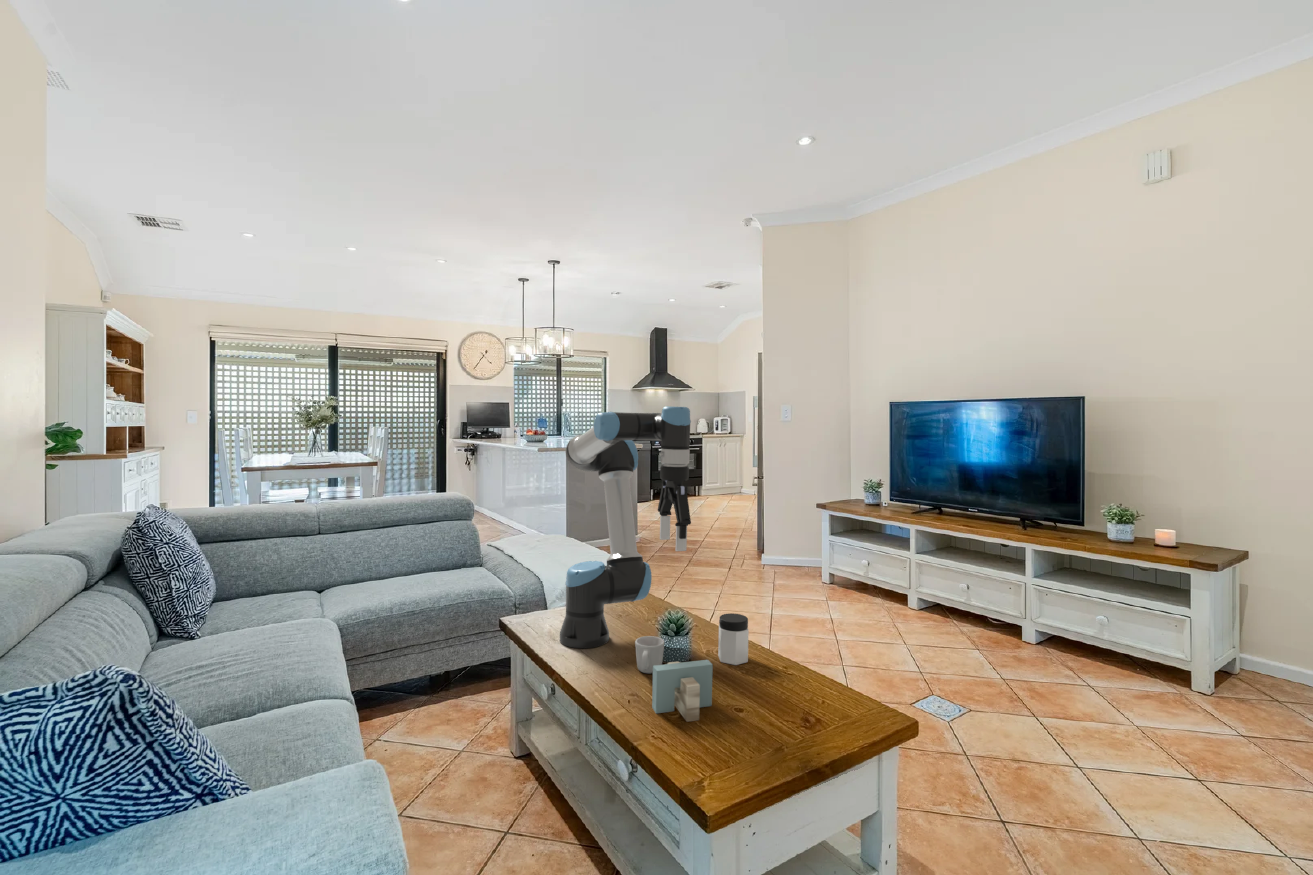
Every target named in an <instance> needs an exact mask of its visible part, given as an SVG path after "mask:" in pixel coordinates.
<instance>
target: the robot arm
mask: <svg viewBox="0 0 1313 875" xmlns="http://www.w3.org/2000/svg"><path fill="white" fill-rule="evenodd" d="M691 422H692V420H691V410H690V408H689V407H688V406H669V405H667V406H663V407H662V410H661V413H660V412H616V411H615V412H614V411H606V412H598V413H597V414H596V416H595V418H594V421H593V426H592V427H591V428H589V429H588V430H587V431H586V432H584V433H583V434H577V435H575V436H574V437H572V438H571V439H570V440H569V441H568V442H567V445H566V448H565V456H566V458H567V460H568V462H569V463H570V465H572V466H573V467H574V468H576V469H578V470H580V471H585V472H598V479H600V481H602V482H603V486H604V488H603V489H604V497H605V507H606V519H607V528H608V529H607V531H608V539H609V540H608V541H609V549H610V554H609V557H608V558H607V559H606V565H605V563H604V562H603V561H600V560H588V561H582V562H578V563H575V564H573V565H571V566H570V567H569V568H568V569H567V571H566V577H565V578H566V579H565V616H564V619H563V622H562V625H561V629H560V631H559V642H560V643H561V645H563V646H565V647H568V648H573V649H591V648H598V647H600V646H603V645H606V644H607V643H608V642H609V640H610V631H609V630H610V629H609V627H608V624H607V622H606V621H607V620H606V618H605V613H604V612H605V611H604V610H605V605H609V604H621V603H627V602H630V603H631V602H635V601H641V600H644V599H645V598H647V597H648V595H649V593H650V590H651V586H652V570H651V568H650V564H649V563H648V562H645V561H644V560H643V555H642V554H641V553H639V552H638V545H637V537H636V526H635V520H634V519H635V518H634V509H633V499H632V492H631V491H632V490H631V481H630V479H631V478H632V477H633V476H634V471H635V470H636V469H637V468H638V465H639V454H638V453H639V452H638V449H637V446H636V444H635V442H634V441H659V442H660V452H659V453H658V454H659V456H660V463H661V464H662V465H661V466H660V467H659V468H660V472H659V478H660V479H661V480H662V481H661V490H660V496H659V500H658V507H657V511H658V512H659V515H660V518H659V521H660V522H659V523H660V524H659V540H660V541H664V540H669V541H670V540H671V516H672V512H671V511H672V508H674V514H675V518H676V523H675V524H674V526H675V548H674V549H675V552H687V545H688V544H687V543H688V541H687V540H688V526H689V525H691V524H692V519H691V512H690V506H689V499H688V486H686V485H685V486H684V485H683V482H685V481H688V480H689V476H690V475H689V474H690V468H689V466H688V465H689V464H690V443H691V442H690V438H691ZM658 512H657V513H658Z"/></svg>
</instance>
